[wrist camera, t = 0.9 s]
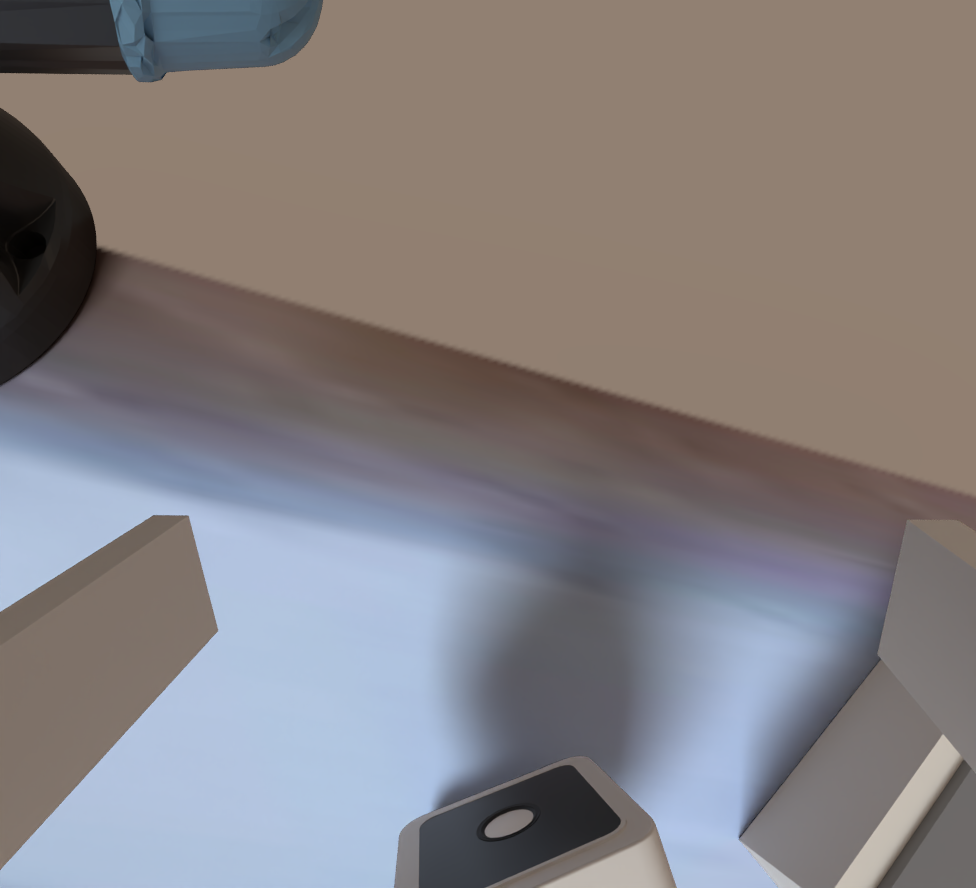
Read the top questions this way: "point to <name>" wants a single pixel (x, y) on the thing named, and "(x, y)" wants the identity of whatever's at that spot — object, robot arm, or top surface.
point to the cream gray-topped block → (872, 802)
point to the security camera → (537, 836)
